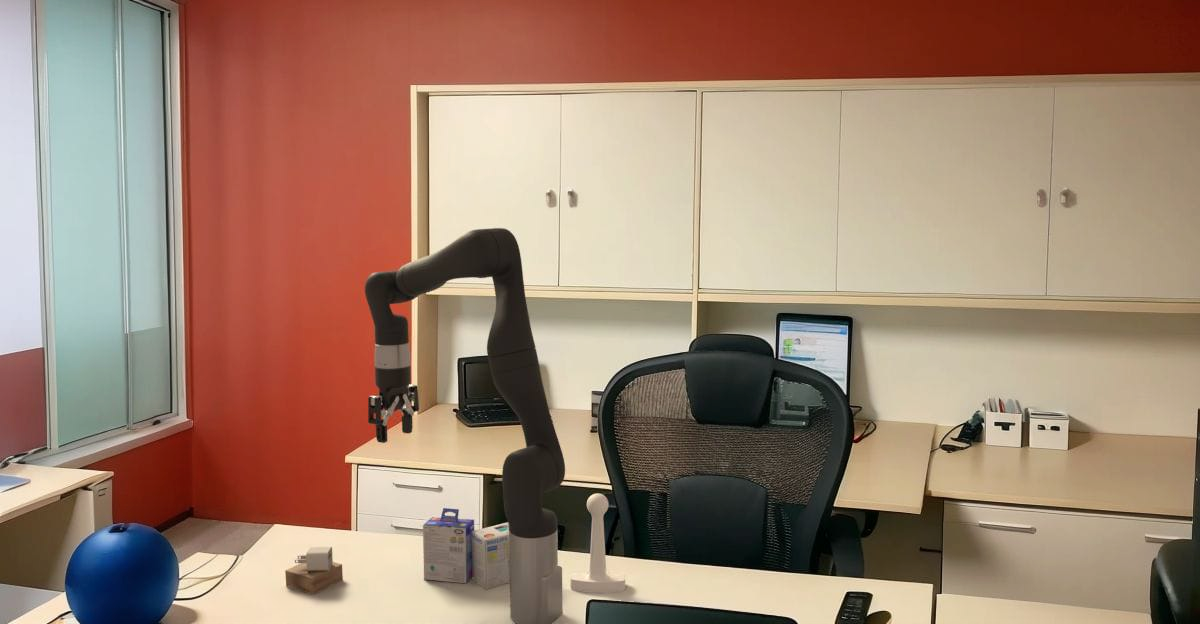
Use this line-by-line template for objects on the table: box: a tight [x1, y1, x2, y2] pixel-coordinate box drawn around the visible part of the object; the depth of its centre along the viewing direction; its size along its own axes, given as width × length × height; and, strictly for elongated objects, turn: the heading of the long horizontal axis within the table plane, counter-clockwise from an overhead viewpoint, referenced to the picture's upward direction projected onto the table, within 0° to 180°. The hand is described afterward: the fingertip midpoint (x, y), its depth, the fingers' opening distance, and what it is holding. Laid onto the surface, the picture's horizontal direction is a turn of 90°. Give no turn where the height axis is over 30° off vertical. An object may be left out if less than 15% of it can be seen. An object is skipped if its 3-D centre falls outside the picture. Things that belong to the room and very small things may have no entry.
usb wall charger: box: [294, 546, 334, 571], centre depth 190 cm, size 4×7×4 cm, turn 93°
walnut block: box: [284, 561, 344, 595], centre depth 191 cm, size 8×8×4 cm
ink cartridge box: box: [422, 507, 475, 584], centre depth 193 cm, size 10×6×14 cm, turn 78°
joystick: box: [570, 492, 626, 594], centre depth 189 cm, size 11×8×20 cm
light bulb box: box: [471, 521, 510, 590], centre depth 193 cm, size 11×7×11 cm, turn 126°
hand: (395, 437), depth 199 cm, fingers open, 8 cm apart
